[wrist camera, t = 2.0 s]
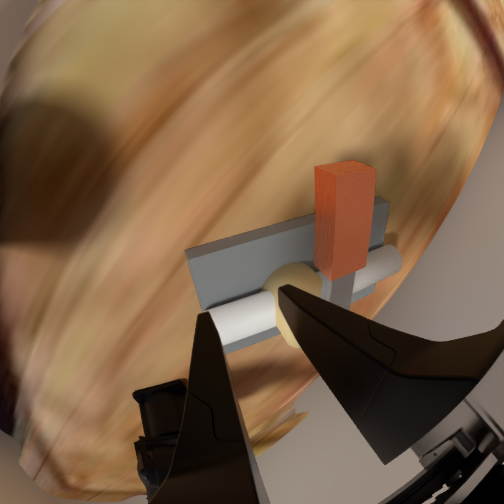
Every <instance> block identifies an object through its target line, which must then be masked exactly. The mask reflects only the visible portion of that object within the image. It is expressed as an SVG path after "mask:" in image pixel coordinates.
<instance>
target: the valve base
mask: <svg viewBox="0 0 504 504" xmlns="http://www.w3.org/2000/svg"><path fill="white" fill-rule="evenodd" d="M388 208H389V202H388V201H387V200H385V199H383V198H381V197H376V198H374V207H373V217H372V226H371V234H370V241H369V248H368V255H367V262H366V267H365V268H362V269H360V270H358V271H356V273H355V280H354V286H353V292H352V298H351V303H353V302H355V301H357V300H359V299H361V298H363V297H365V296H367V295H369V294H371V293H373V292H374V289H375V284H376V283H377V282H379V281H381V280H383V279H385V278H387V277H389V276H391V275H393V274H395V273H397V272H398V271H399V270H400V269H401V267H402V258H401V255H400V252H399V251H398V249H397V248H396V247H395V246H393V245H391V244H387V245H385V246H383V242H384V236H385V230H386V223H387V216H388ZM314 244H315V214H311V215H307V216H304V217H300V218H296V219H293V220H289V221H285V222H282V223H278V224H274V225H271V226H267V227H264V228H260V229H256V230H253V231H249V232H246V233H242V234H239V235H235V236H232V237H228V238H225V239H221V240H218V241H214V242H211V243H208V244H204V245H201V246H197V247H194V248H191V249H187V250H185V254H186V257H187V261H188V265H189V268H190V272H191V275H192V279H193V282H194V286H195V289H196V293H197V296H198V299H199V303H200V306H201V309H202V312H206V311H209V312H210V314H211V316H212V319H213V321H214V323H215V326H216V328H217V330H218V332H219V335H220V338H221V342H222V345H223V349H224V352H225V354H228V353H231V352H234V351H236V350H239V349H242V348H245V347H248V346H250V345H253V344H256V343H258V342H261V341H264V340H266V339H269V338H271V337H274V336H277V335H279V334H282V335H283V337H284V338H285V340H286V341H287V343H288V344H289V345H290V346H292V347H294V348H301V347H300V346H299V344H298V342H297V341H296V339H295V337H294V335H293V333H292V332H291V330H290V328H289V326H288V324H287V322H286V320H285V318H284V316H283V314H282V312H281V310H280V308H279V305H278V288H279V287H280V286H283V285H286V284H290V285H293V286H295V287H297V288H299V289H302V290H304V291H306V292H308V293H311V294H313V295H315V296H317V297H320V298H321V290H322V276H323V273H322V272H321V271H320V270H319V269H318V268H317V267H316V266H315V265H314Z"/></svg>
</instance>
